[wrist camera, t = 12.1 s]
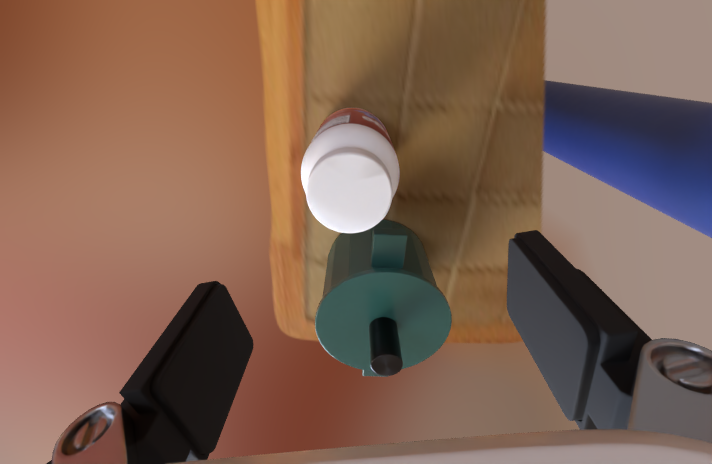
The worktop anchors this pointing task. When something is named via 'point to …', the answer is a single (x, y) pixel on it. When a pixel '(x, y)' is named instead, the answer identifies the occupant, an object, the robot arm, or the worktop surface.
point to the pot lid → (383, 320)
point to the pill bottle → (350, 171)
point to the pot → (376, 255)
